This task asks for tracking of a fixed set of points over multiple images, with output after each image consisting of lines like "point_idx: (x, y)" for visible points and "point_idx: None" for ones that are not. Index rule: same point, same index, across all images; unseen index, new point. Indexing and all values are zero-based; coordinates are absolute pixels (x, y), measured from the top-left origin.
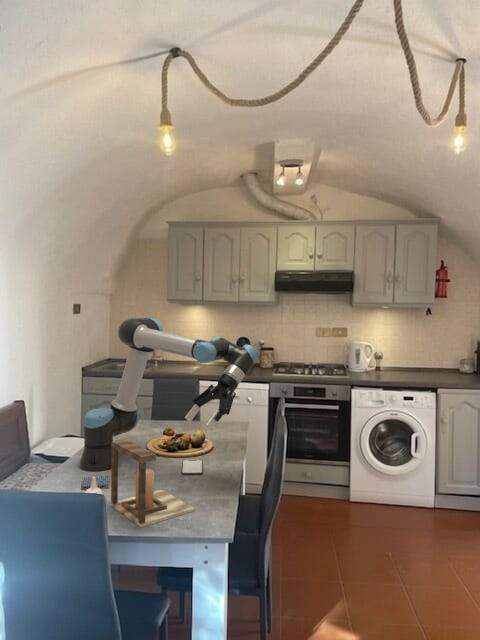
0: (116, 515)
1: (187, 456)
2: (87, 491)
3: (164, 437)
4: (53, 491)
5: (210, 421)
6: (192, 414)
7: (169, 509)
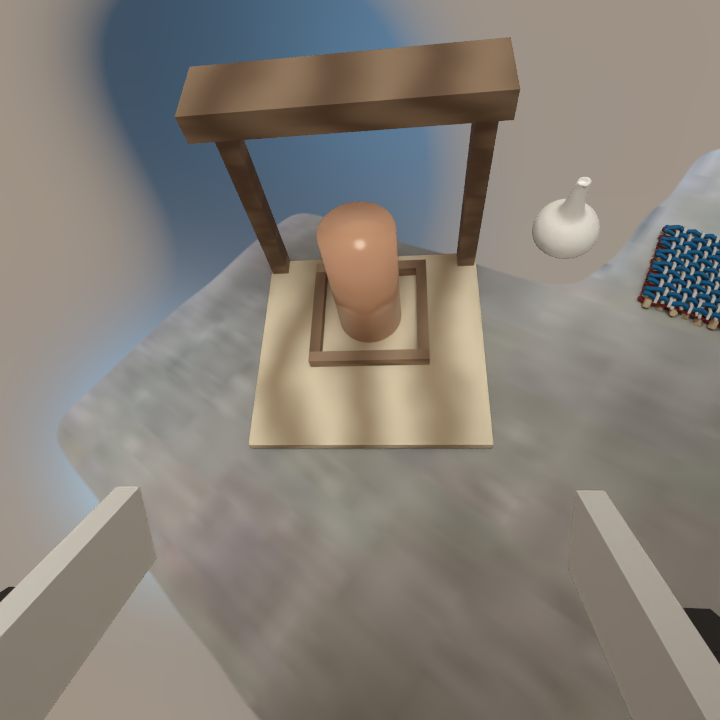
0: None
1: None
2: (564, 199)
3: None
4: (692, 167)
5: (81, 525)
6: (608, 610)
7: (300, 370)
